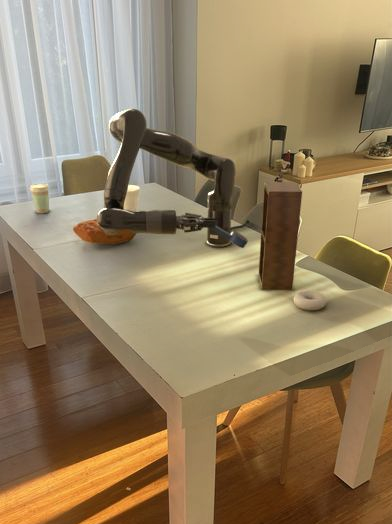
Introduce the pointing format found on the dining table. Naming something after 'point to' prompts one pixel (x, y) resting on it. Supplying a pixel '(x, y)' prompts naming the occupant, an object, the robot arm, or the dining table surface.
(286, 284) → the shelf
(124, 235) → the cuneiform tablet
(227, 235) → the blue elongated piece
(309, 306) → the donut
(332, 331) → the dining table surface
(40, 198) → the coffee cup
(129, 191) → the cup
